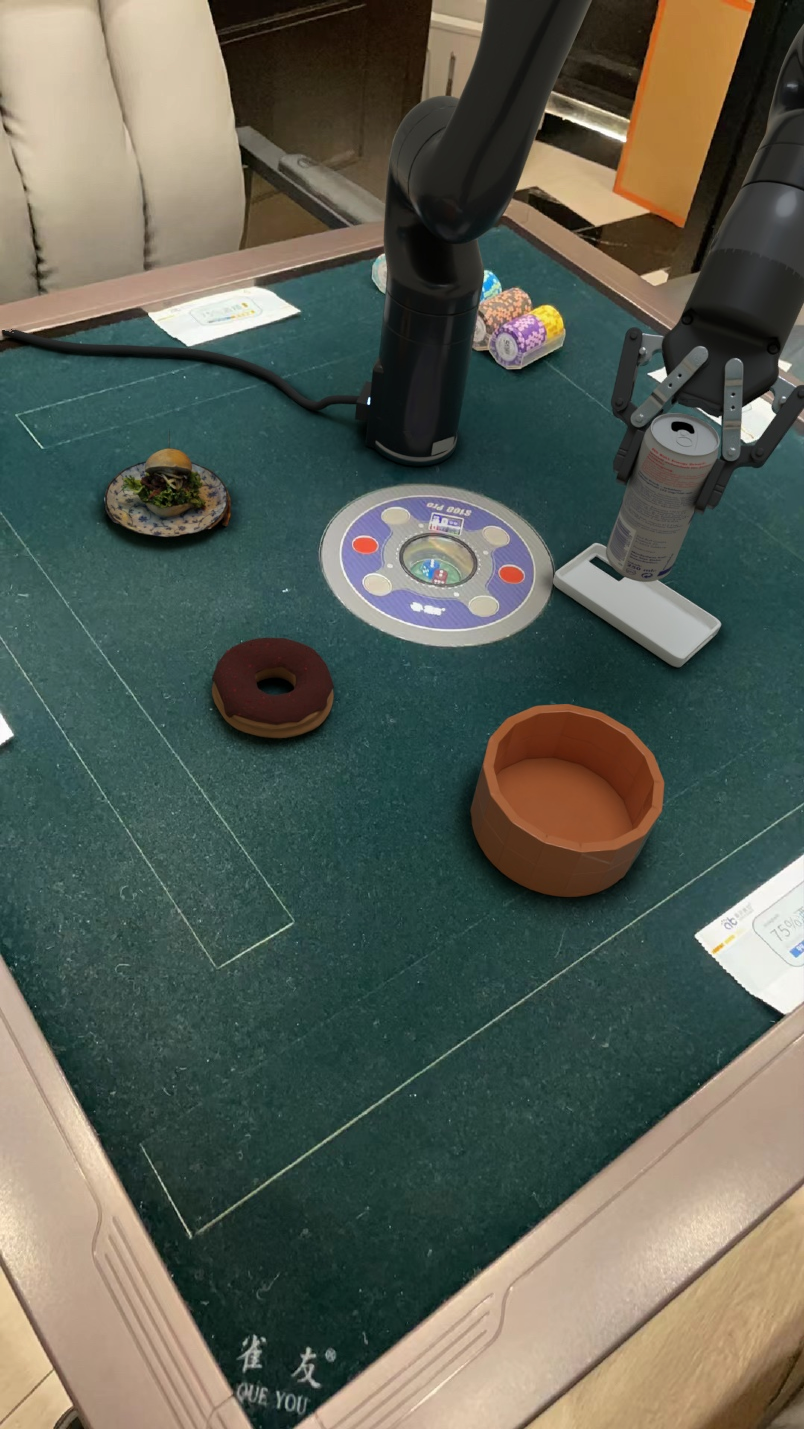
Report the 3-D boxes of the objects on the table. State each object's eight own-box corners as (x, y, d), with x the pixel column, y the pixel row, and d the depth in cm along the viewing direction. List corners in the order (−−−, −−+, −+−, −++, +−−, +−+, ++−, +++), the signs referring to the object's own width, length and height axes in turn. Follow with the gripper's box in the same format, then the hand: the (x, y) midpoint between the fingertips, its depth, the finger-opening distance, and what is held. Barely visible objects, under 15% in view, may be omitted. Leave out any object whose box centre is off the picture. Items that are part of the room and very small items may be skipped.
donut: (350, 679, 91) (353, 648, 88) (306, 762, 85) (308, 732, 82) (243, 643, 92) (242, 611, 89) (192, 723, 86) (190, 691, 83)
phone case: (549, 583, 102) (677, 670, 96) (552, 573, 101) (681, 660, 95) (594, 550, 105) (719, 632, 100) (597, 540, 104) (724, 622, 99)
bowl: (455, 871, 80) (469, 823, 75) (487, 737, 88) (501, 686, 83) (631, 916, 79) (657, 871, 74) (645, 777, 88) (669, 728, 83)
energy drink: (668, 543, 85) (718, 416, 75) (674, 588, 81) (726, 462, 72) (603, 533, 85) (645, 406, 75) (605, 579, 81) (650, 451, 72)
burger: (81, 524, 100) (70, 460, 94) (146, 458, 107) (140, 395, 101) (193, 566, 98) (189, 503, 92) (252, 496, 105) (252, 433, 99)
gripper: (849, 322, 76) (750, 540, 78) (662, 261, 79) (571, 472, 81) (869, 283, 69) (759, 525, 71) (662, 217, 72) (562, 450, 74)
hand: (659, 495), depth 76 cm, fingers closed on energy drink, 5 cm apart
